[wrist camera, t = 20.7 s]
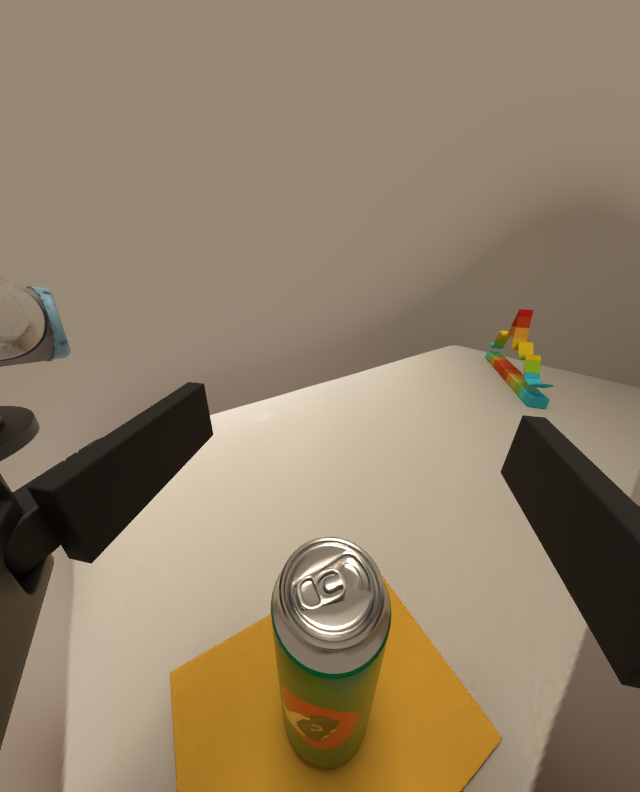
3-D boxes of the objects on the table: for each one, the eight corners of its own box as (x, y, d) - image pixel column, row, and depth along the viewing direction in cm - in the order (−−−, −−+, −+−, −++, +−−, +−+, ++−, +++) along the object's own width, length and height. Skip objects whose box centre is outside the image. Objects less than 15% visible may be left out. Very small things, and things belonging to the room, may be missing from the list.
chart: (547, 408, 52) (581, 327, 45) (527, 406, 52) (558, 326, 46) (498, 358, 78) (515, 302, 72) (485, 357, 79) (501, 302, 72)
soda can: (385, 739, 15) (423, 622, 10) (298, 800, 14) (290, 696, 8) (343, 637, 20) (355, 516, 14) (273, 673, 18) (257, 550, 13)
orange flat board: (199, 1127, 9) (197, 1130, 8) (171, 675, 18) (169, 672, 18) (500, 740, 16) (502, 738, 16) (368, 560, 25) (368, 557, 25)
